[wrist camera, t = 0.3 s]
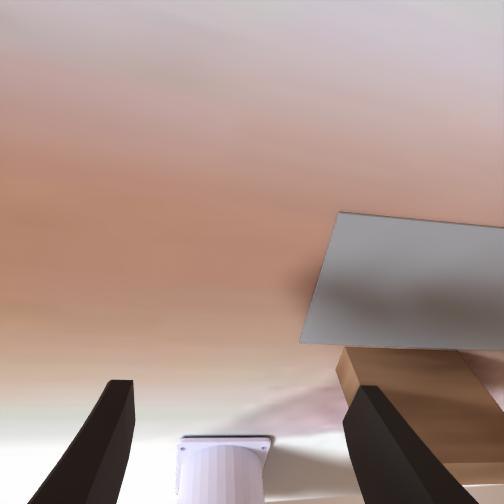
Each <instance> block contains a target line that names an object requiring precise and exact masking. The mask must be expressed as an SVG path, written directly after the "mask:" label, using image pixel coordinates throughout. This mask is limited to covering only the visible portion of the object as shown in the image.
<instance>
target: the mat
mask: <svg viewBox="0 0 504 504" xmlns="http://www.w3.org/2000/svg"><path fill="white" fill-rule="evenodd" d="M299 342H300V343H301V344H329V345H357V346H384V347H412V348H440V349H467V350H495V351H503V350H504V228H503V227H493V226H482V225H472V224H461V223H451V222H441V221H430V220H420V219H409V218H399V217H389V216H378V215H368V214H357V213H347V212H338V215H337V219H336V222H335V225H334V228H333V232H332V235H331V238H330V242H329V245H328V248H327V252H326V255H325V258H324V261H323V265H322V268H321V271H320V275H319V278H318V281H317V285H316V288H315V291H314V294H313V298H312V301H311V304H310V308H309V311H308V314H307V318H306V321H305V324H304V328H303V331H302V334H301V337H300V341H299Z"/></svg>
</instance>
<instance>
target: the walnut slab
mask: <svg viewBox="0 0 504 504" xmlns="http://www.w3.org/2000/svg"><path fill="white" fill-rule="evenodd" d="M336 373H337V376H338V378H339V381H340V384H341V387H342V390H343V393H344V395H345V398H346V401H347V404H348V407H350V405H351V403H352V401H353V399H354V397H355V395H356V392H357V390H358V388H359V386H360V385H374V386H378V387H379V388H380V389H381V391H382V392H383V393H384V394H385V396H386V397H387V398H388V399H389V401H390V402H391V403H392V404H393V406H394V407H395V408H396V409H397V411H398V412H399V413H400V414H401V415H402V417H403V418H404V419H405V420H406V422H407V423H408V424H409V425H410V427H411V428H412V429H413V430H414V431H415V433H416V434H417V435H418V436H419V437H420V439H421V440H422V441H423V442H424V443H425V445H426V446H427V447H428V448H429V449H430V450H431V452H432V453H433V454H434V455H435V456H436V457H437V459H438V460H439V461H440V462H441V463H442V464H443V465H444V467H445V468H446V469H447V470H448V471H449V472H450V473H451V474H452V475H453V476H454V478H455V479H456V480H457V481H458V482H459V483H460V484H461V485H475V484H504V412H503V411H502V409H501V408H500V407H499V405H498V404H497V403H496V401H495V400H494V399H493V397H492V396H491V395H490V394H489V392H488V391H487V390H486V388H485V387H484V386H483V384H482V383H481V382H480V380H479V379H478V378H477V376H476V375H475V374H474V372H473V371H472V370H471V369H470V367H469V366H468V365H467V363H466V362H465V361H464V359H463V358H462V357H461V355H460V354H459V353H458V351H448V350H419V349H391V348H363V347H345V348H344V350H343V353H342V355H341V357H340V360H339V362H338V365H337V367H336Z"/></svg>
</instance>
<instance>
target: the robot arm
mask: <svg viewBox="0 0 504 504" xmlns="http://www.w3.org/2000/svg"><path fill="white" fill-rule="evenodd" d="M134 426H135V405H134V388H133V380H111V381H109V382H108V383H107V385H106V387H105V389H104V391H103V393H102V394H101V396H100V398H99V400H98V402H97V403H96V405H95V407H94V408H93V410H92V412H91V413H90V415H89V416H88V418H87V420H86V421H85V423H84V424H83V426H82V428H81V429H80V431H79V432H78V434H77V435H76V437H75V438H74V440H73V441H72V442H71V444H70V445H69V447H68V448H67V450H66V451H65V453H64V454H63V456H62V457H61V459H60V460H59V462H58V463H57V464H56V466H55V467H54V468H53V470H52V471H51V472H50V474H49V475H48V477H47V478H46V479H45V481H44V482H43V483H42V485H41V486H40V487H39V489H38V490H37V491H36V493H35V494H34V496H33V497H32V498H31V499H30V501H29V502H28V503H27V504H116V503H117V499H118V496H119V492H120V488H121V485H122V481H123V477H124V474H125V470H126V466H127V463H128V459H129V454H130V449H131V443H132V438H133V432H134ZM343 427H344V432H345V437H346V442H347V447H348V451H349V456H350V459H351V462H352V465H353V468H354V471H355V474H356V477H357V481H358V484H359V487H360V490H361V493H362V496H363V499H364V502H365V504H479V503H478V502H477V501H476V500H475V499H474V498H473V497H472V496H471V495H470V494H469V493H468V492H467V491H466V490H465V489H464V487H463V486H462V485H461V484H460V483H459V482H458V481H457V480H456V479H455V478H454V476H453V475H452V474H451V473H450V472H449V471H448V470H447V469H446V468H445V467H444V465H443V464H442V463H441V462H440V461H439V460H438V459H437V457H436V456H435V455H434V454H433V453H432V452H431V450H430V449H429V448H428V447H427V446H426V445H425V443H424V442H423V441H422V440H421V439H420V437H419V436H418V435H417V434H416V433H415V431H414V430H413V429H412V428H411V427H410V425H409V424H408V423H407V422H406V420H405V419H404V418H403V417H402V415H401V414H400V413H399V412H398V411H397V409H396V408H395V407H394V406H393V404H392V403H391V402H390V401H389V399H388V398H387V397H386V396H385V394H384V393H383V392H382V391H381V389H380V388H379V387H378V386H374V385H360V386H359V388H358V390H357V392H356V395H355V397H354V399H353V401H352V403H351V405H350V407H349V409H348V411H347V413H346V415H345V418H344V420H343ZM270 445H271V441H270V439H269V438H181V439H179V440H178V445H177V466H176V488H175V493H176V494H177V495H178V504H265V500H264V490H263V480H262V471H263V468H264V465H265V462H266V458H267V455H268V452H269V449H270Z"/></svg>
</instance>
